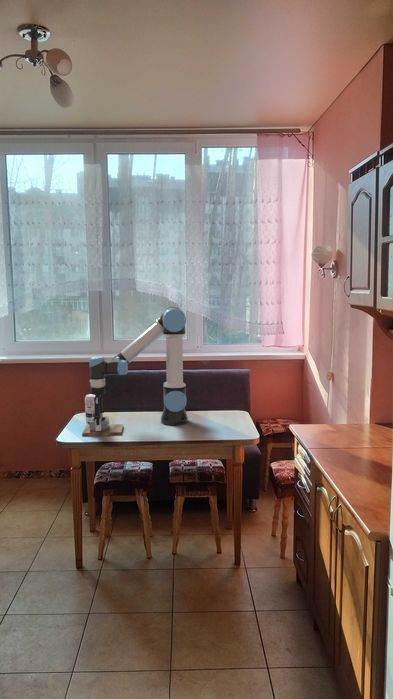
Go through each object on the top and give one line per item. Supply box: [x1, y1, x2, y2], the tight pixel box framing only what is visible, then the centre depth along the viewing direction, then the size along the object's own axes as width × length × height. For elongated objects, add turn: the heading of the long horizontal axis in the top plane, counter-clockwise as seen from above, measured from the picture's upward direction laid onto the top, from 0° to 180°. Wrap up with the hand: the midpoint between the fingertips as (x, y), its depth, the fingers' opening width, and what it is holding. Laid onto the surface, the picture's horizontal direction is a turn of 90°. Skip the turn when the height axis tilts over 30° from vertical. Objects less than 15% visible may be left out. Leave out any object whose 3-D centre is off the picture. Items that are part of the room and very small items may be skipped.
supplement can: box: [84, 393, 95, 423], centre depth 283 cm, size 8×8×15 cm
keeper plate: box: [81, 413, 124, 437], centre depth 265 cm, size 20×14×10 cm
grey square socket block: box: [88, 416, 110, 431], centre depth 265 cm, size 9×9×5 cm
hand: (99, 427), depth 265 cm, fingers closed on grey square socket block, 9 cm apart
